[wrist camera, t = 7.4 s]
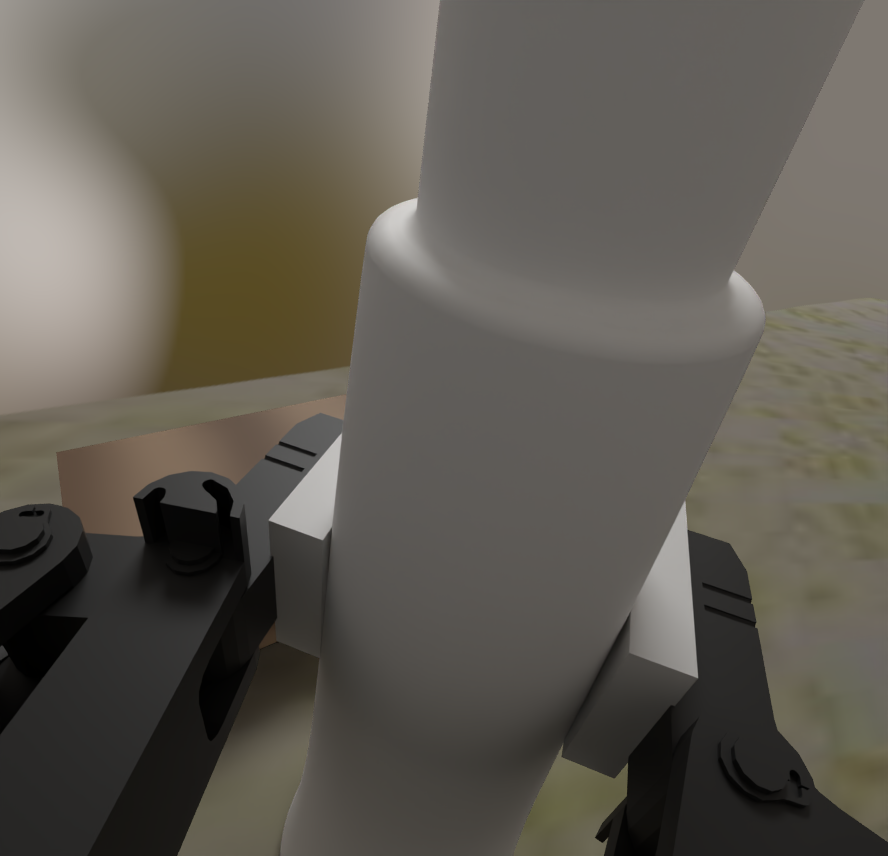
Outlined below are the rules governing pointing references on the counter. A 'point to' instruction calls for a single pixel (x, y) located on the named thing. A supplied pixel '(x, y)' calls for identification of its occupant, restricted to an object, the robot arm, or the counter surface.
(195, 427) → the walnut board
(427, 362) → the cosmetic bottle
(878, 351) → the counter surface
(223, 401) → the counter surface
